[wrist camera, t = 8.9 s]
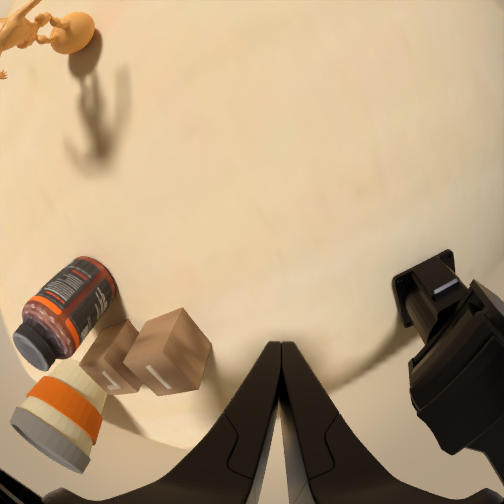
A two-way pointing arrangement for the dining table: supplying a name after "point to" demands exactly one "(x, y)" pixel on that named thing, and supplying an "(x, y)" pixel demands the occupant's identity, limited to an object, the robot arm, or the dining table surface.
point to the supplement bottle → (64, 312)
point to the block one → (169, 354)
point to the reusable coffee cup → (63, 415)
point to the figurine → (62, 36)
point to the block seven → (112, 360)
